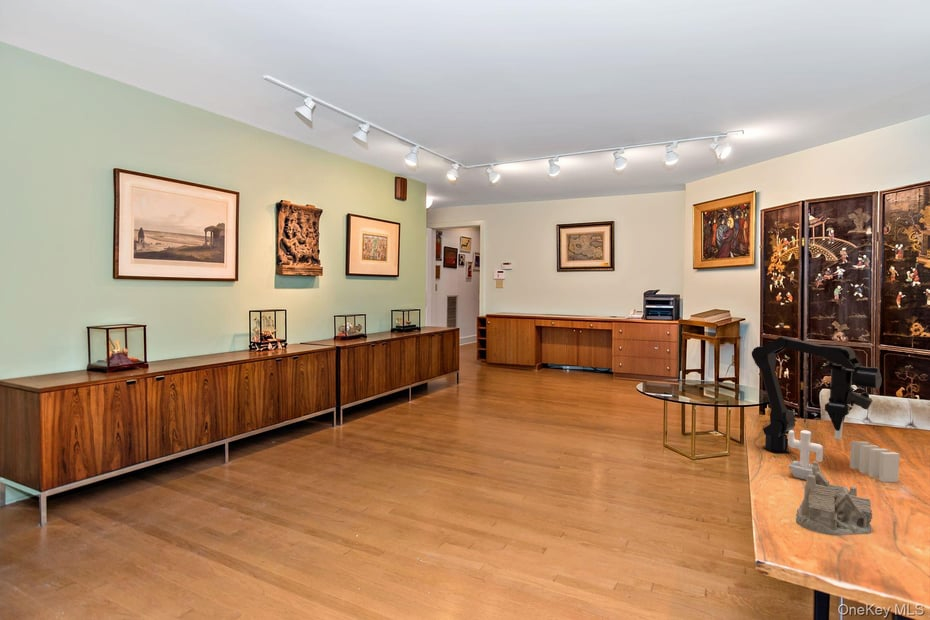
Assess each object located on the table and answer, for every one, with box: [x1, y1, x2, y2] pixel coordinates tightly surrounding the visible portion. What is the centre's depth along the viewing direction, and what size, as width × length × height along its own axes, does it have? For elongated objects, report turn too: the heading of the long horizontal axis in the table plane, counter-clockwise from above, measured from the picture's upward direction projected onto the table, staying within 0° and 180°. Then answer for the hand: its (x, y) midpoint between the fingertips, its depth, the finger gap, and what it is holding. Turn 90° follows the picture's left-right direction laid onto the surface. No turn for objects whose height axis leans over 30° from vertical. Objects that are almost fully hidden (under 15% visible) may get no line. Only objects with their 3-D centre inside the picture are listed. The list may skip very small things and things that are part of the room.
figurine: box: [787, 429, 824, 481], centre depth 161 cm, size 7×9×15 cm
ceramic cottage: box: [795, 460, 873, 536], centre depth 128 cm, size 16×16×15 cm
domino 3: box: [858, 444, 880, 474], centre depth 166 cm, size 5×2×9 cm, turn 94°
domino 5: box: [878, 451, 901, 483], centre depth 158 cm, size 5×2×9 cm, turn 94°
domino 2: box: [849, 440, 870, 470], centre depth 169 cm, size 5×2×9 cm, turn 94°
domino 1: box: [833, 420, 844, 441], centre depth 171 cm, size 5×2×9 cm, turn 138°
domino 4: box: [868, 448, 890, 479], centre depth 162 cm, size 5×2×9 cm, turn 94°
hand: (838, 428), depth 171 cm, fingers closed on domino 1, 5 cm apart
